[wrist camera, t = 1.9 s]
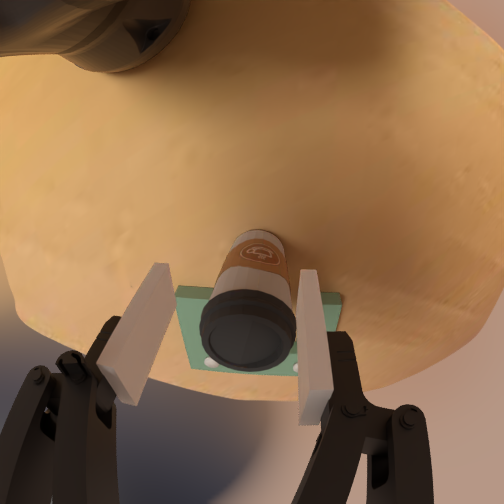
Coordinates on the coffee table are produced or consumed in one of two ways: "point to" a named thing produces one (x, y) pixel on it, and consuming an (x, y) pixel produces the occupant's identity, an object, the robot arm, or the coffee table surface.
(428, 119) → the coffee table surface
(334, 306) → the mint green u-shaped piece
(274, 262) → the coffee cup
